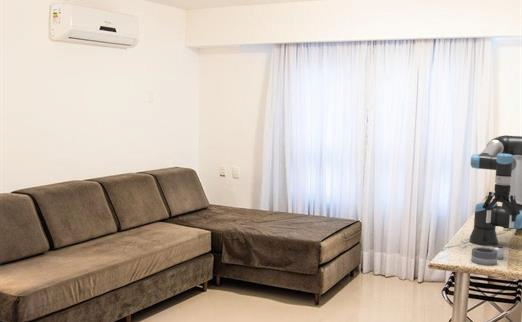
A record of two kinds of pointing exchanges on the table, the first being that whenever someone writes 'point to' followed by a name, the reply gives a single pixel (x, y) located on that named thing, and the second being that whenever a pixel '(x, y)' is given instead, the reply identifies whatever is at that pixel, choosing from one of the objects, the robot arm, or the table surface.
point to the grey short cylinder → (484, 256)
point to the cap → (499, 251)
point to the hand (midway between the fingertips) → (499, 225)
